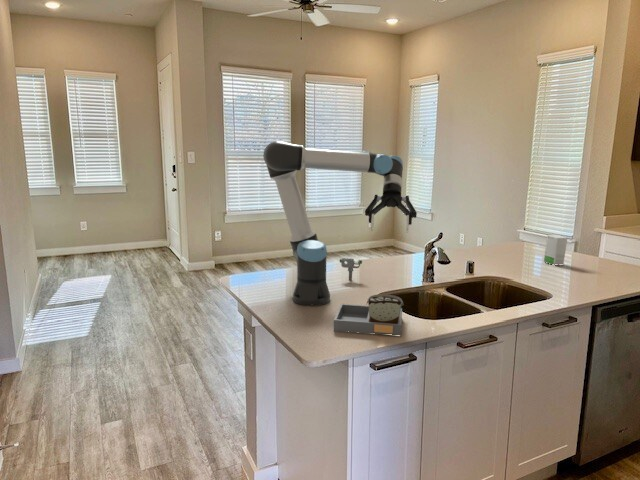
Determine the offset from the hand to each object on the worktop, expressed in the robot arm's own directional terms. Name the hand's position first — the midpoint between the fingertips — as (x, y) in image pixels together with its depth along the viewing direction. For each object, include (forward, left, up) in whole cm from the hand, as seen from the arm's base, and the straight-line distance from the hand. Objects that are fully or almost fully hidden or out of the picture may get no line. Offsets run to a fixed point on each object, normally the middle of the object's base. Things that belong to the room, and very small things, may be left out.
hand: (389, 229), depth 177 cm
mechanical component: (-18, +29, -30) cm, 46 cm away
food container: (0, -26, -29) cm, 39 cm away
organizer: (-5, -25, -30) cm, 39 cm away
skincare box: (+87, +85, -30) cm, 125 cm away
